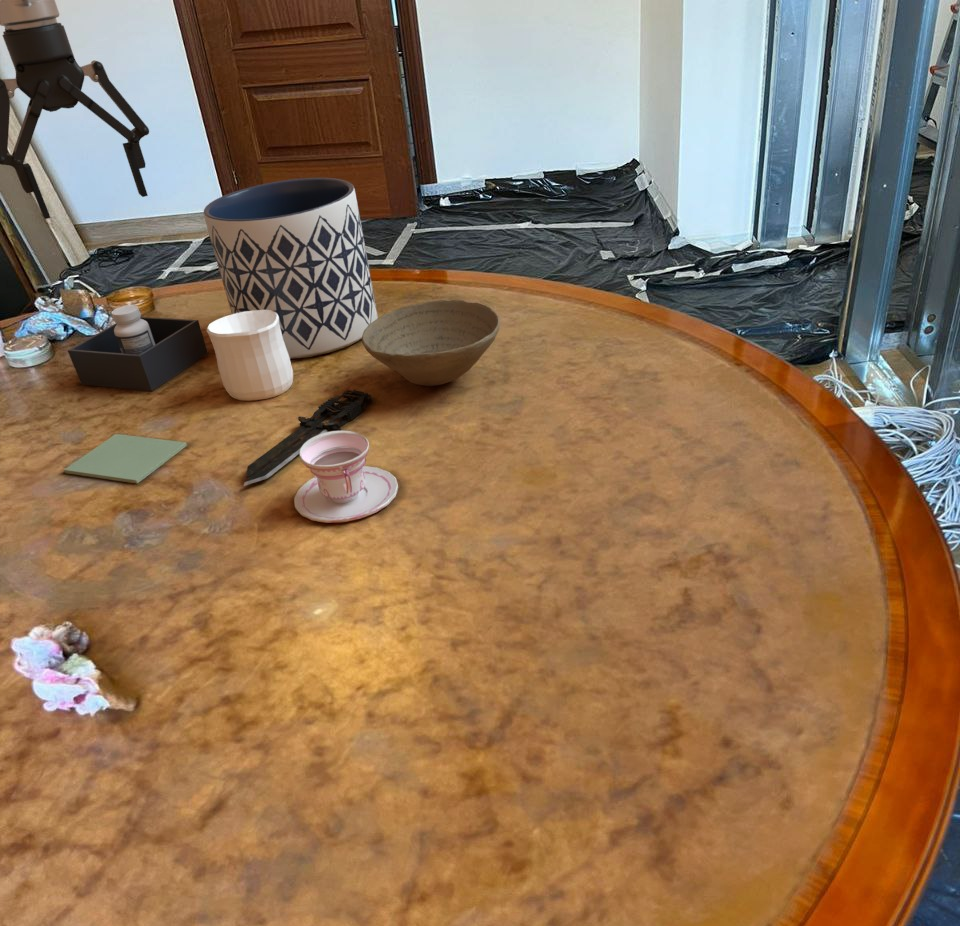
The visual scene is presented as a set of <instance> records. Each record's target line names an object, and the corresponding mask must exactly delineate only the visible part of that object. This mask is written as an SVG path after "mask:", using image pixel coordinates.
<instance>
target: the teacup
mask: <svg viewBox="0 0 960 926" xmlns="http://www.w3.org/2000/svg"><path fill="white" fill-rule="evenodd" d="M369 452H370V443H369V439H368V438H367V437H366V436H365V435H363V434H361V433H359V432H357V431H353V430H343V429H341V430H340V431H331V432H326V433H322V434H319V435H317V436H315V437H313V438H311V439H309V440H308V441H307V442H305V443H304V444H303V446H302V447H301V449H300V452H299V454H298V455H299V459H300V462H301V463H302V465H303V466H304V467H306V468H307V469H309V471H310V473H311V474H313V475H314V477H313V478H311V479H309V480H307V481H305V483H304V484H302V485H301V487H299V488H298V489H297V492H296V493H295V495H294V498H293V502H294V508H295V510H296V511H297V512H298V513H299V515H300V516H302V517H304V518H306V519H308V520H311V521H313V522H320V523H327V524H328V523H330V524H332V523H346V522H350V521H351V522H352V521H355V520H360V519H363V518H366V517H369V516H371V515H373V514H375V513H376V514H377V512H379V511H381V510H383V509H384V508H385V507H388V506H389V505H390V503H391V502H392V501H394V499H395V498H396V497H397V493H398V490H399V484H398V480H397V478H396V476H394V475H393V474H392V472H390V471H388V470H386V469H382V468H380V467H376V466H368V465H366V463H367V458H366V457H367V456H368V454H369Z"/></svg>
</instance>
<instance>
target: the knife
mask: <svg viewBox="0 0 960 926" xmlns="http://www.w3.org/2000/svg"><path fill="white" fill-rule="evenodd" d="M342 398H343V399H344V400H341V399H342ZM372 401H373V399H372V394H369V393H368V392H365V391H363V390H359V389H352V390H344V391H343V392H342V393H341V394H339V395H337V396H335V397H331V398H328V399H327V400H325V401H324V402H322V404H320V405H318V407H317V408H318V409H316V410H314V412H313V414H312V415H311V417H306V416H298V417H297V420H298V422H300V423H299V427H298V428H297V429H295V430H294V431H293V432H292V433H290V434H289V435H287V436H286V437H285V438H283V439H281V441H279V442H278V443H277V444H275V445H273V447H272V448H270V449H269V450H267V451H266V452H265V453H263V454H262V455H260V456H259V457H258V458H257V459H255V460H254V461H252V462H251V463H250V464H248V465H247V467H246V473H245V479H247V480H245V481H244V483H243V485H242V486H243V487H245V486H249V485H251V484H254V483H257V482H261V481H263V480H267V479H270V477H272V476H273V475H274V474H276V473H277V472H278V471H279V470H280V469H282V468H283V467H284V466H285V465H287V464H288V463H289V462H291V461H292V460H294V459H295V458H296V457H297V456H298V455H299V452H300V449H301V447H302V446H303V444H304V443H305V442H307V441H308V440H309V439H311V438H313V437H315V436H317V435H319V434H322V433H326V432H331V431H340V430H342V429H341V428H340V427H342V426H344V425H345V424H347V423H348V422H352V421H353V420H355V419H356V418H357V417H358V416H360V415H361V414H362V413H363V412H364V411H365V408H366V406H367V405H368V404H370V403H371V402H372ZM344 405H345V406H344ZM331 417H332V418H331ZM327 418H331V419H329V420H328V421H325V422H323V421H324V420H326V419H327ZM339 419H341V420H340V421H337V420H339Z"/></svg>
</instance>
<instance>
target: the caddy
mask: <svg viewBox="0 0 960 926" xmlns="http://www.w3.org/2000/svg"><path fill="white" fill-rule="evenodd" d="M140 319H143V320H145V321H146V322H147V323H148V324H149V327H150V330H151V333H152V336H153V339H154V341H155V344H156V345H154V346H152V347H151V348H149V349H148V350H146V351H144V352H143V353H141V354H140V355H135V354H123V353H121V350H120V347H119V345H118V342H117V339H116V337H115V334H114V328H115V326H116V325H117V323H115V322H114V324H112V325H110V326H107V328H104V329H103V330H101V331H99V332H97V333H95V334H94V335H92V336H90V337H89V338H87V339H85V340H83V341H81V342H80V343H77V344H76V345H74V346H73V347H70V348H69V349H67V353H68V355H69V358H70V360H71V363H72V365H73V368H74V370H75V373H76V375H77V377H78V380H79V383H80V385H84V386H92V387H103V388H113V389H114V388H115V389H122V390H123V389H124V390H125V389H126V390H133V391H134V390H135V391H145V392H153V391H155V390H156V389H157V388H160V387H161V386H163V385H164V384H166V383H167V382H168V381H170V380H172V379H173V378H174V377H176V376H177V375H179V374H180V373H182V372H183V371H185V370H187V369H188V368H190V366H192V365H194V364H195V363H197V362H198V361H199V360H201V359H203V358H204V357H206V356H208V355H209V351H208V348H207V345H206V341H205V338H204V334H203V331H202V328H201V325H200V322H199V319H189V318H187V319H185V318H171V317H169V318H168V317H155V316H153V317H151V316H141V317H140Z"/></svg>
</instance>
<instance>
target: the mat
mask: <svg viewBox="0 0 960 926" xmlns="http://www.w3.org/2000/svg"><path fill="white" fill-rule="evenodd" d="M186 447H188V444H187V441H180V440H179V441H177V440H171V439H170V440H169V439H161V438H154V437H146V436H139V435H138V436H137V435H129V434H121V433H115V434H114V435H113V434H112V436H110V437H109V438H108V439H106V440H105V441H103V442H102V443H100V444H99V445H98V446H96V447H94V448H93V449H92V450H91V451H89V452H87V453H86V454H84V455H83V456H82V457H80V458H79V459H77V460H76V461H74V462H72V464H70V465H68V466H67V467H66V468H64V469H63V471H64V473H65V474H69V475H76V476H83V477H90V478H95V479H96V478H97V479H103V480H110V481H115V482H124V483H128V484H129V483H130V484H139V483H141V482H142V481H143V480H144V479H145V478H147V477H148V476H150V475H152V474H153V472H155V471H156V470H158V469H159V468H160V467H161V466H163V465H164V464H165V463H167V462H168V461H169V460H171V459H172V458H173V457H174V456H176V455H177V454H179V453H180V452H181V451H182V450H183V449H185V448H186Z"/></svg>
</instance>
